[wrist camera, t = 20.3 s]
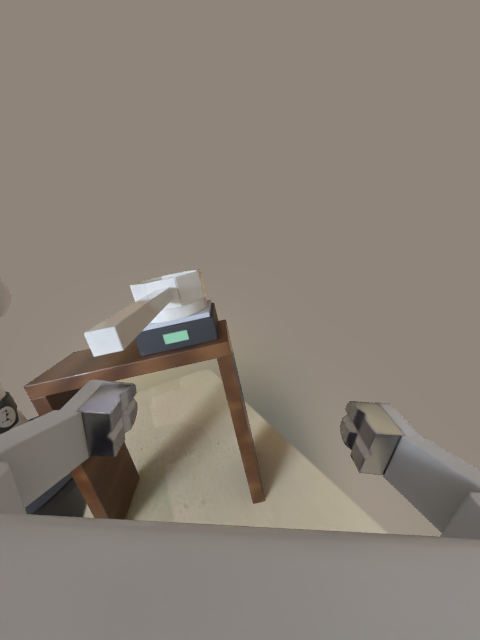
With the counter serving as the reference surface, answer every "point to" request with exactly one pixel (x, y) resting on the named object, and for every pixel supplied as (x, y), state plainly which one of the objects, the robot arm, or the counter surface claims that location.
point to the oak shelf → (119, 472)
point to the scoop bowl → (149, 310)
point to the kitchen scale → (179, 332)
